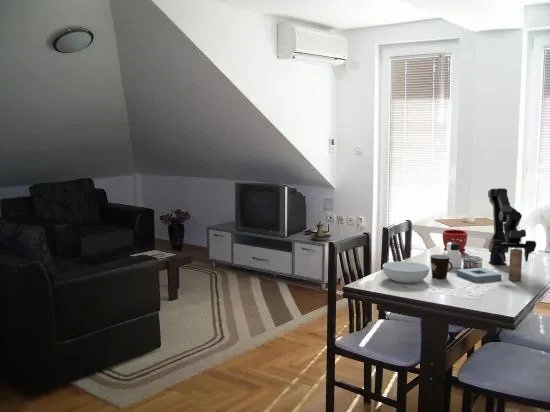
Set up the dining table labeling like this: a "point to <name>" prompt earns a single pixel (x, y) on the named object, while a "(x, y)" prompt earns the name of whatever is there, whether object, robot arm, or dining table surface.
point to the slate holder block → (479, 274)
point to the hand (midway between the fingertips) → (516, 261)
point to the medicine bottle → (453, 255)
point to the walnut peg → (515, 265)
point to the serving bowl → (406, 271)
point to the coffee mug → (440, 266)
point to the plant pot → (455, 238)
